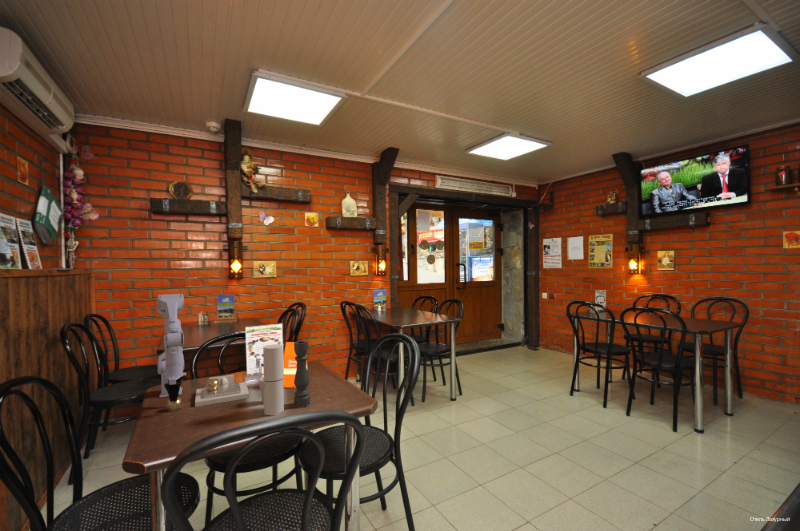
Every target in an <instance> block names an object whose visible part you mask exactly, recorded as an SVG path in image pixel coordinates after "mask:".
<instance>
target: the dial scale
mask: <svg viewBox="0 0 800 531" xmlns="http://www.w3.org/2000/svg"><path fill="white" fill-rule="evenodd" d="M210 379H218V385H222V384H229V383H235V374H228V375H227V374H226V375H221V376H213V377H209V378H208V380H210ZM239 384H240V388H241V392H238V393H232V394H226V395H219V396H213V397H207V398H204V387H203V388H202V387H201V388H197V389H196V392H195V400H194V407H196V408H197V407H202V406H208V405H209V406H210V405H216V404H219V403H220V404H221V403H226V402H233V401H237V400H238V401H239V400H243V399H245V400H246V399H249V398H250V392H249V388H248V384H247V381H242V382H239Z"/></svg>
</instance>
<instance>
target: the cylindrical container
mask: <svg viewBox="0 0 800 531" xmlns="http://www.w3.org/2000/svg"><path fill="white" fill-rule="evenodd" d="M262 352H263V355H262V356H263V357H262V358H263V377H264V404H263V415H265V414H266V415H265V416H267V415H274V414H278V415H280V414H279V413H280V412H282V411H285V402H284V401H285V398H284V397H285V396H284V395H285V394H284V393H285V392H284V391H285V390H284V388H285V387H284V345H283V344H277V343H276V344H267V345H264V346H263V347H262ZM274 416H275V415H274Z"/></svg>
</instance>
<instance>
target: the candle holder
mask: <svg viewBox="0 0 800 531" xmlns="http://www.w3.org/2000/svg"><path fill="white" fill-rule="evenodd" d="M293 342H294V351H295V354H296V357H295V360H296V361H297V369H296V374H295V378H294V385H295V387H294V388H295V389H296V390H295V392H294V396H293V406H294V407H295V406H296V407H295V408H297V407H302V406H307V405H309V404H310V405H311V396H310V391H309V389H308V386H309V385H310V376H309V372H308V367H307V368H306V360H307V361H308V360H309V356H308V355H307V354H308V352H309V345H310V344H309V341H307V340H297V341H293ZM306 355H307V356H306ZM310 405H309V406H310ZM307 407H308V406H307Z"/></svg>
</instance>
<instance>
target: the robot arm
mask: <svg viewBox="0 0 800 531" xmlns="http://www.w3.org/2000/svg"><path fill="white" fill-rule="evenodd" d="M184 298H185V297H184V294H183V293H173V294H172V293H171V294H158V295H157V296H156V307H157V313H158V314H160V315H162V316H163V318H164V323H163V324H164V325H163V327H164V328H163V329H164V335H163V347H164V352H162V353H161V354H159V356H158V357H157V374H158V375H160V376H161V378H160V379H161V392H160V394H159V398H165V397H168V398H169V399H170V402H173V401H177V398H178V396H179V395H182V391H183V387H181V386H182V384H183V379H184V378H185V376H186V375H187V372H184V370H185V357H184V354H183V347H184V344H185V337H184V336H185V335H184V331H183V329H182V324H181V323H182V322H181V320H180V319H179V318H178V314H179V313H182V312H183V309H184V305H185V303H184V302H185V299H184ZM169 399H168V400H169Z"/></svg>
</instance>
